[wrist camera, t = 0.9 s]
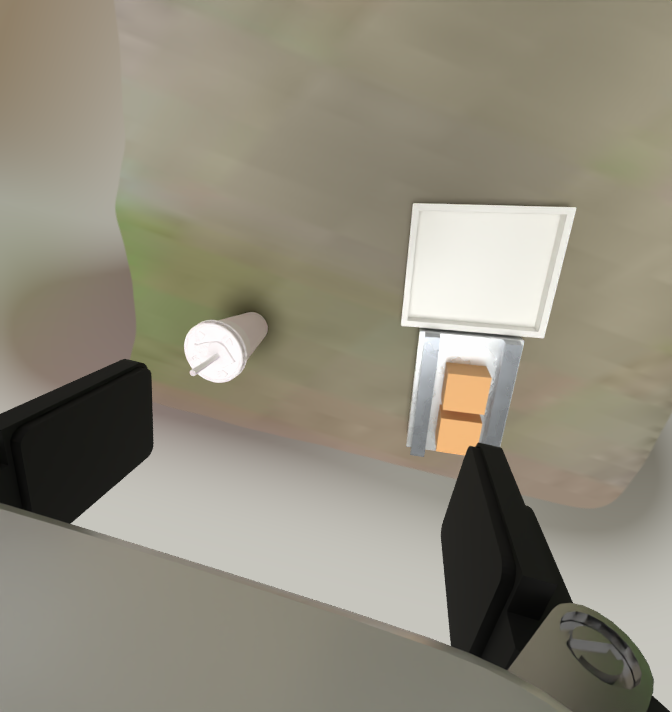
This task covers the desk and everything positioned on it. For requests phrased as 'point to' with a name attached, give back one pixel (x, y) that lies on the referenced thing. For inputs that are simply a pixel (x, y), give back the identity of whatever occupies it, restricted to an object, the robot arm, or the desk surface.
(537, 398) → the desk surface
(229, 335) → the smoothie
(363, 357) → the desk surface
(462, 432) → the chip
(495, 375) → the slot block
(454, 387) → the orange square block
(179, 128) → the desk surface
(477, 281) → the tray
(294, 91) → the desk surface
